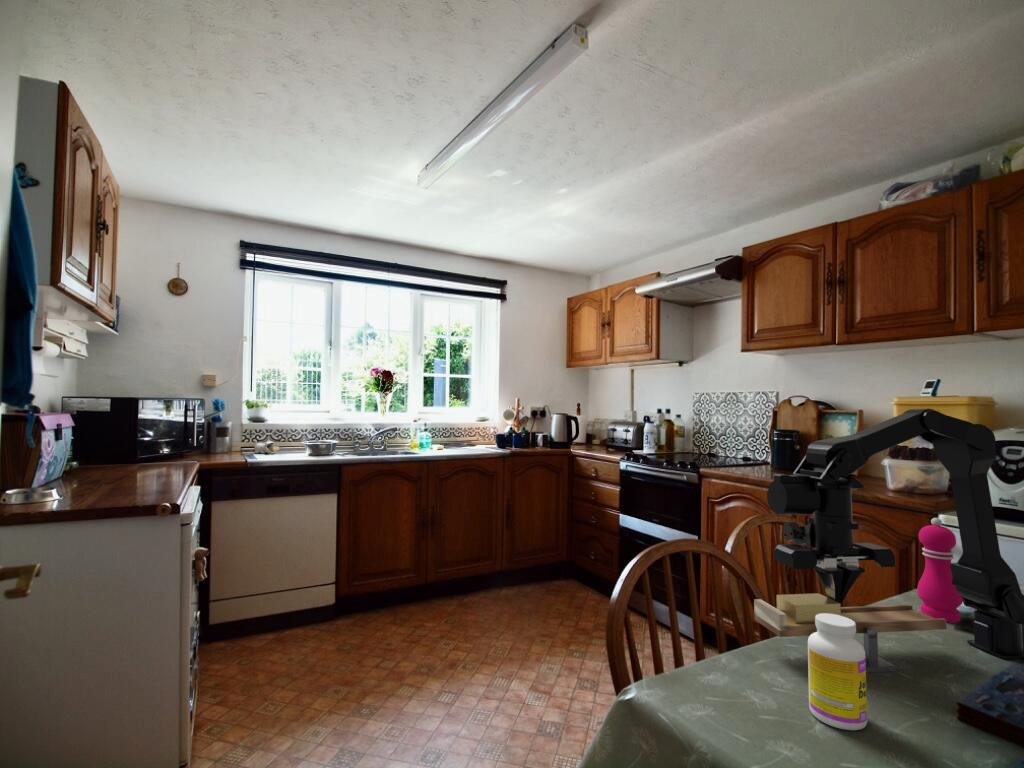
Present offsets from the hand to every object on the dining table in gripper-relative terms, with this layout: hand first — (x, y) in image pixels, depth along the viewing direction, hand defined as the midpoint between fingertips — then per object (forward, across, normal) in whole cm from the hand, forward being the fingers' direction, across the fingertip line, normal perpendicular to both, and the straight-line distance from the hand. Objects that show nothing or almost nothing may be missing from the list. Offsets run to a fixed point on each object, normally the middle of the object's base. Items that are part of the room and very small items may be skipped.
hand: (835, 606), depth 88 cm
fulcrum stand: (+8, -2, 0) cm, 8 cm away
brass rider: (+2, +5, 0) cm, 6 cm away
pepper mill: (+8, -34, -14) cm, 38 cm away
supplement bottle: (+8, +14, +17) cm, 23 cm away
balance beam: (+2, -2, 0) cm, 3 cm away
